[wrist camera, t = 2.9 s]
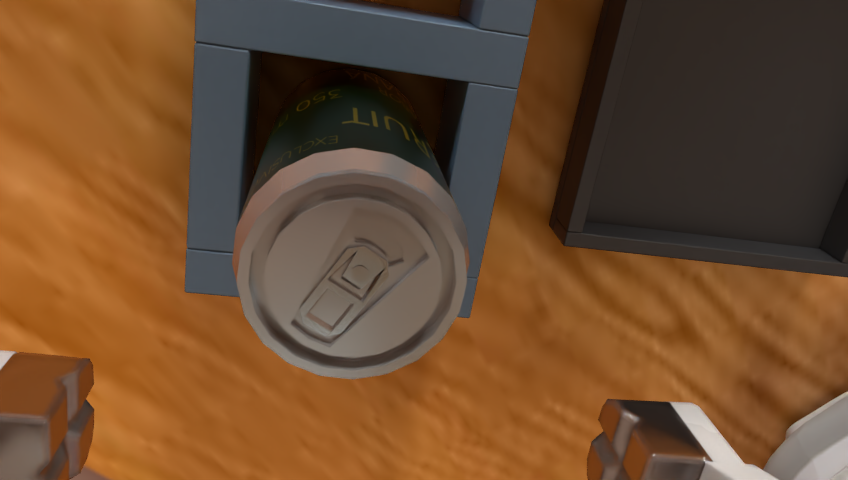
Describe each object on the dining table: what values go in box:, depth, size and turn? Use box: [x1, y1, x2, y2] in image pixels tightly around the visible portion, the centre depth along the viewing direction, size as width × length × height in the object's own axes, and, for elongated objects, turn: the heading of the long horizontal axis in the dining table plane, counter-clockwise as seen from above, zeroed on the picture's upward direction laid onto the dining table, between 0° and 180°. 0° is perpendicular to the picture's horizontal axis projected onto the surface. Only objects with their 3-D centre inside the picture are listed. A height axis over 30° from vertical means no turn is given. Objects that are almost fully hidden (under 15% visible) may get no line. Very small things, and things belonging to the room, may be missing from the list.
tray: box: [549, 0, 848, 277], centre depth 26 cm, size 15×12×2 cm
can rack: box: [185, 0, 537, 318], centre depth 23 cm, size 18×10×4 cm, turn 171°
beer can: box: [232, 68, 470, 379], centre depth 21 cm, size 5×5×12 cm
